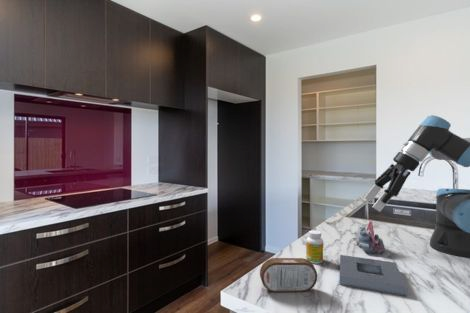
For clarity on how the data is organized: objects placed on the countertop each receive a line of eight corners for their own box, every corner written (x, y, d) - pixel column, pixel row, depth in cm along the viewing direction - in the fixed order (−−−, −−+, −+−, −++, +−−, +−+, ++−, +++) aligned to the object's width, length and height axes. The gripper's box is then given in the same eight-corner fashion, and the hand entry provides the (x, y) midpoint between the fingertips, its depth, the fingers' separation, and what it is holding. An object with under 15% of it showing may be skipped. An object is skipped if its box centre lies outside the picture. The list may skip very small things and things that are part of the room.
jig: (395, 270, 83) (395, 262, 83) (406, 296, 68) (407, 286, 68) (340, 262, 89) (340, 254, 89) (339, 284, 74) (339, 275, 74)
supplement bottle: (311, 264, 87) (312, 235, 87) (303, 258, 92) (303, 230, 92) (326, 263, 88) (326, 233, 88) (317, 256, 94) (317, 229, 93)
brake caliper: (395, 250, 93) (373, 222, 95) (368, 267, 95) (346, 239, 97) (384, 240, 104) (365, 214, 106) (360, 255, 106) (341, 230, 108)
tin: (314, 287, 73) (315, 256, 73) (318, 293, 70) (319, 261, 70) (259, 287, 72) (259, 257, 72) (261, 294, 69) (261, 261, 69)
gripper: (389, 148, 107) (356, 191, 111) (413, 153, 83) (370, 207, 87) (407, 159, 106) (372, 201, 110) (436, 167, 82) (390, 221, 86)
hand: (371, 204), depth 99 cm, fingers open, 13 cm apart
